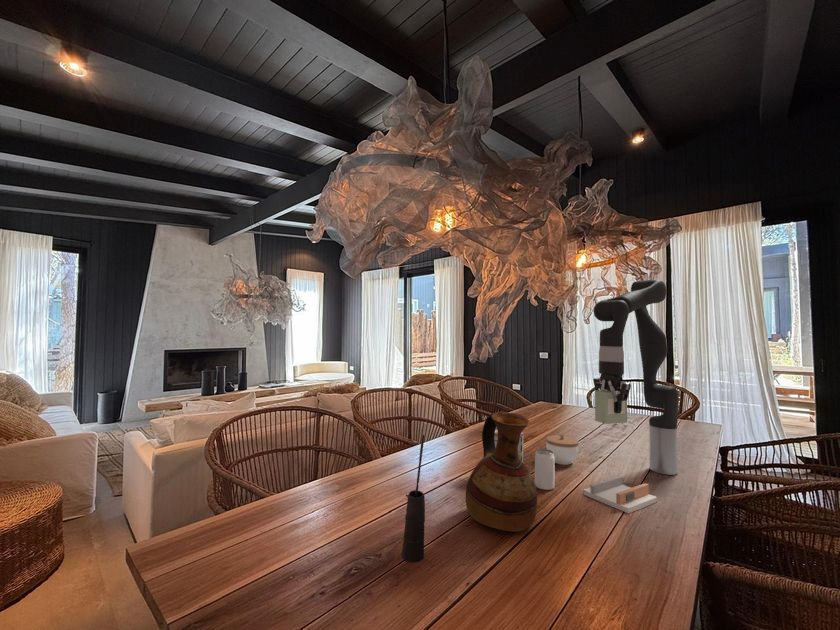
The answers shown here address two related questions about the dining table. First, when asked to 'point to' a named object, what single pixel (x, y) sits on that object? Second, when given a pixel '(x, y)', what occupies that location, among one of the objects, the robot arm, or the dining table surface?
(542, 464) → the can
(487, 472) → the ceramic pitcher
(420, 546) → the butter churn
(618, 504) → the shelf
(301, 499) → the dining table surface
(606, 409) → the carton
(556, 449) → the lidded bowl
